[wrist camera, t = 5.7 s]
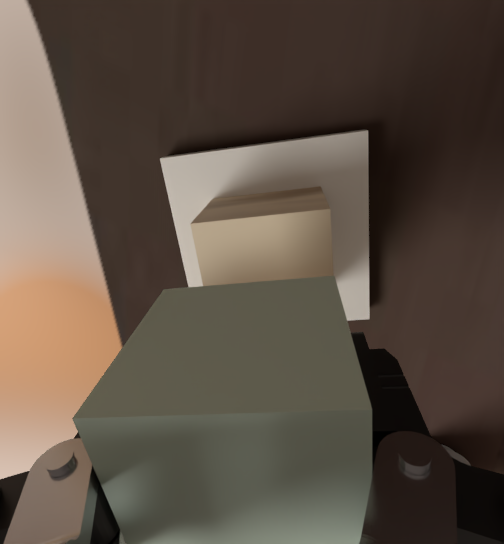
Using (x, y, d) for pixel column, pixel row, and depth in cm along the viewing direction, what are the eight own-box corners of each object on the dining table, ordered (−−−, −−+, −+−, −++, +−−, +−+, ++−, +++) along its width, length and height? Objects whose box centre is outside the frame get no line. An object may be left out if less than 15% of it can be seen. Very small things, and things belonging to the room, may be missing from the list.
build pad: (166, 156, 21) (159, 158, 20) (363, 129, 19) (368, 130, 18) (202, 320, 25) (198, 330, 24) (365, 309, 23) (369, 319, 22)
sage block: (163, 289, 11) (72, 418, 6) (334, 275, 10) (372, 409, 6) (196, 416, 13) (144, 585, 8) (340, 411, 12) (372, 594, 7)
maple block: (212, 198, 20) (190, 223, 16) (320, 186, 19) (330, 208, 15) (229, 293, 23) (214, 339, 18) (326, 286, 22) (336, 331, 17)
